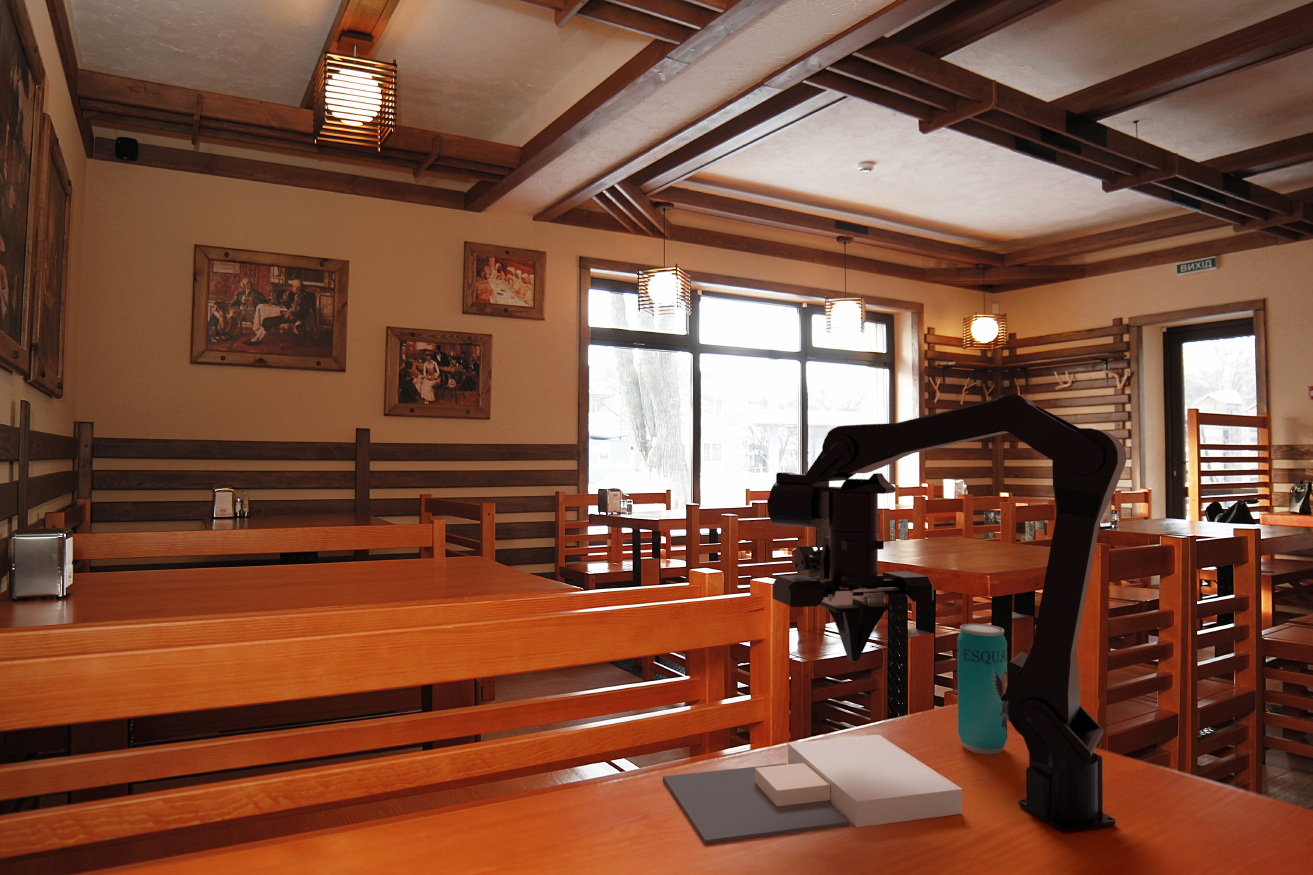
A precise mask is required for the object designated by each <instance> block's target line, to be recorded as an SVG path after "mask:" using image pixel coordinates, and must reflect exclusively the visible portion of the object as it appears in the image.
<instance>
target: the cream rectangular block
mask: <svg viewBox="0 0 1313 875" xmlns="http://www.w3.org/2000/svg"><path fill="white" fill-rule="evenodd" d="M755 783H756V784H757V785H758V786H759V787H760V788H761V789H762V791H763V792H764V793H765V794H766V795H767V796H768V797H769V798H770V799H771V800H772V801H773V802H774V803H775V805H776V806H784V805H792V804H801V803H809V802H817V801H826V800H830V784H829V783H828V782H826V781H825V780H824V779H823V778H822V777H821V776H820V775H818V774H817V773H816V772H815V771H814V770H813V769H812V768H810V767H809V766H808V765H807V764H806V763H798V764H788V763H787V765H779V766H769V767H759V768H755Z"/></svg>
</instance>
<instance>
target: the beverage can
mask: <svg viewBox="0 0 1313 875" xmlns="http://www.w3.org/2000/svg"><path fill="white" fill-rule="evenodd" d="M959 628H960V632H959V634H958V636H957V732H958V735H959V738H960V742H961V744H962V746H963V747H964V748H965V749H966V750H967V751H970V752H972V753H976V754H980V755H990V756H991V755H997V754H1000V753H1002V752H1003V750H1004V748H1005V744H1006V743H1007V740H1008V716H1007V704H1008V701H1001V698H1002V696H1003V695H1004V694H1005V692H1006V689H1007V684H1008V641H1007V640H1006V637H1005V634H1004V633H1005V629H1004V628H1003V627H1001V626H996V625H991V624H986V623H964V624H962V625H960V626H959Z"/></svg>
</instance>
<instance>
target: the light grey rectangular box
mask: <svg viewBox="0 0 1313 875" xmlns="http://www.w3.org/2000/svg"><path fill="white" fill-rule="evenodd" d="M787 745H788V746H787V747H788V748H787V765H788V764H798V763H806V764H807V765H808V766H809V767H810V768H812V769H813V770H814V771H815V772H816V773H817V774H818V775H820V776H821V777H822V778H823V779H824V780H825V781H826V782H828V783H829V784H830V800H827V801H828V802H829V803H830V804H831V805H832V806H833V807H834V808H835V809H836V810H837V811H839V812H840V813H841V814H842V815H843V816H844V817H845V818H846V819H847V820H848V821H849V822H850V823H851V824H852V825H854V827H856V828H861V827H869V826H870V827H871V826H877V825H885V824H893V823H894V824H895V823H900V822H901V823H902V822H908V821H916V820H925V819H930V818H931V819H932V818H940V817H946V816H947V817H948V816H953V815H961V814H963V788H961V787H960V786H958V785H957V784H955V783H954V782H952V781H950V779H947V778H946V777H944V776H943V775H941V774H940V773H938V772H937V771H935V770H933V769H932V768H930V767H929V766H927V765H926V764H924V763H923V762H921V761H920V760H919V759H916V758H915V757H914V756H913V755H911V754H909V753H908V752H906V751H905V750H903V749H901V747H898V746H897V745H895V744H894V743H892V742H891V741H890V740H888V739H886V738H884V737H883V736H881V735H880V734H871V735H863V736H862V735H861V736H851V737H841V738H830V739H820V740H811V741H810V740H809V741H801V742H798V741H797V742H791V743H790V742H788V743H787Z"/></svg>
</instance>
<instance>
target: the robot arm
mask: <svg viewBox="0 0 1313 875" xmlns="http://www.w3.org/2000/svg"><path fill="white" fill-rule="evenodd" d="M1004 434H1010V435H1012V436H1014V437H1015V438H1016V439H1018V440H1020V441H1021V442H1023V443H1024V444H1026V445H1027V446H1028V447H1030V448H1032V449H1033V450H1035V451H1036V452H1038V453H1039V454H1040V455H1043V456H1045V457H1046V458H1048V459H1049V460H1051V461H1052V463H1051V466H1052V490H1053V498H1054V499H1053V500H1054V505H1055V521H1054V527H1053V531H1052V532H1053V533H1052V537H1051V538H1052V539H1051V544H1050V549H1049V554H1048V559H1047V565H1046V571H1045V577H1044V582H1043V588H1042V593H1041V598H1040V604H1039V609H1038V615H1037V620H1036V626H1035V630H1034V637H1033V642H1032V646H1031V648H1030V651H1029V653H1026V652H1024V651H1021V652H1019V654H1017V655H1016V656H1015V657H1014V658H1012V660H1010V661H1009V662H1007V689H1006V692H1005V694H1004V695H1003V696H1002V698H1001V701H1007V721H1009V723H1010V724H1011V725H1012V727H1013V728H1014V730H1015V731H1016V732H1017V733H1018V734H1019V735H1020V736H1021V737H1023V741H1024V743H1025V745H1026V748H1027V751H1028V766H1027V767H1026V768H1025V776H1026V777H1025V778H1026V779H1025V782H1026V784H1025V785H1026V787H1025V788H1026V789H1025V790H1026V792H1025V793H1026V794H1025V795H1026V797H1025V798H1020V799H1018V800H1017V802H1018V804H1017V805H1019V806H1020V807H1022V808H1023V809H1025V810H1026V811H1028V812H1030V813H1031V814H1032V815H1034V816H1036V817H1038V818H1039V819H1041V820H1042V821H1044V822H1046V823H1047V824H1049V825H1051V827H1054V828H1056V829H1058V830H1059V831H1061V832H1063V833H1065V832H1066V833H1069V832H1076V831H1083V830H1091V829H1098V828H1103V827H1112V826H1116V824H1117V821H1116V818H1114V817H1113V816H1111V815H1109V814H1107V813H1105V812H1104V811H1103V810H1104V806H1103V804H1104V802H1103V801H1104V800H1103V799H1104V798H1103V796H1104V795H1103V794H1104V792H1103V789H1104V788H1103V779H1104V778H1103V756H1101V755H1100V754H1097V753H1095V752H1094V751H1095V749H1097V747H1098V746H1099V743H1100V741H1101V738H1102V737H1103V734H1104V729H1103V727H1102V726H1101V725H1100V724H1099V723H1098V722H1097V721H1096V720H1095V719H1094V718H1093V716H1092V715H1090V714H1089V712H1087V711H1086V709H1085V708H1084V707H1083V706H1082V705H1081V703H1080V702H1081V699H1080V698H1081V697H1080V695H1081V694H1080V691H1081V690H1080V672H1079V671H1080V670H1079V664H1078V656H1077V649H1078V642H1079V638H1080V633H1081V627H1082V621H1083V616H1084V611H1085V604H1086V601H1087V600H1086V599H1087V595H1088V591H1089V590H1088V588H1089V583H1090V579H1091V574H1092V568H1093V562H1094V558H1095V551H1096V547H1097V540H1098V536H1099V530H1100V527H1101V526H1100V525H1101V521H1102V518H1103V516H1104V515H1105V512H1106V510H1107V508H1108V506H1109V504H1110V502H1111V500H1112V498H1113V496H1114V494H1115V491H1116V489H1117V486H1118V484H1119V481H1120V479H1121V476H1122V475H1123V472H1124V469H1125V467H1126V463H1127V451H1126V448H1125V446H1124V445H1123V443H1122V442H1121V441H1120V440H1119V439H1118V438H1117V436H1115V435H1114V434H1111V433H1110V432H1107V431H1104V430H1101V429H1096V428H1092V427H1087V428H1086V427H1083V428H1082V427H1078V426H1076V425H1074V424H1073V423H1072V422H1069V421H1067V420H1065V419H1063V418H1061V417H1059V416H1057V415H1056V414H1054V413H1052V412H1050V411H1048V410H1046V409H1044V408H1042V407H1040V406H1039V405H1037V404H1036V403H1034V401H1033V400H1031V399H1029V398H1028V397H1026V396H1023V395H1019V394H1016V393H1015V394H1014V393H1008V394H1007V393H1005V394H1003V395H1001V396H999V397H996V398H994V399H991V400H987V401H986V400H985V401H983V402H978V403H974V404H969V405H966V406H965V405H964V406H961V407H958V408H953V409H950V410H945V411H941V412H937V413H932V414H929V415H923V416H921V417H917V418H916V417H915V418H913V419H912V418H911V419H907V420H904V421H899V422H893V423H891V422H890V423H889V422H888V423H869V424H868V423H867V424H866V423H863V424H851V425H849V424H848V425H847V424H846V425H839V426H836V427H834V428H831V429H830V430H829V431H828V432H827V434H826V436H825V438H824V439H823V443H822V446H821V451H820V453H819V454H818V456H817V458H816V459H815V460H814V462H813V463H812V465H811V466H810V467H809V469H808V470H807V472H806V473H805V474H804V473H802V474H801V473H799V474H798V473H795V472H787V471H784V472H777V473H775V474H776V475H775V483H773V485H772V487H771V489H770V492H769V496H768V498H767V499H766V500H767V501H766V505H767V506H766V507H767V513H768V516H769V519H770V521H771V522H772V523H773V524H774V525H776V526H788V527H802V528H816V529H817V528H821V526H822V525H823V524H824V522H825V521H826V520H828V536H823V541H822V549H821V550H815V548H814V547H813V545H799V546H797V547H795V549H794V568H795V572H796V573H797V574H796V575H793V574H792V575H778V576H776V579H775V580H774V582H773V584H772V599H773V600H775V601H777V602H780V603H782V604H784V605H787V606H789V607H793V608H806V607H819V606H820V607H823V608H825V609H826V610H827V611H828V613H829V614H830V615H831V617H832V620H833V621H834V624H835V626H836V628H837V629H836V630H837V631H838V635H839V637H840V640H841V643H842V647H843V649H844V651H845V656H847V659H848V660H849V661H850V662H859V660H860V658H861V656H862V654H863V651H864V650H865V648H866V646H867V643H868V642H869V639H870V638H871V635H872V634H873V632H874V629H875V628H876V627H877V625H878V623H879V621H880V619H882V617H883V615H884V613H885V612H886V611H891V610H892V605H891V604H890V603H887V602H886V595H905V596H906V598H908V600H909V601H910V602H914V603H915V602H930V601H934V598H935V597H934V591H935V590H934V587H935V586H934V584H933V583H932V580H931V579H930V578H929V576H927V575H923V574H919V573H915V572H911V571H907V570H905V571H884V572H883V573H882V574H879V570H878V569H879V567H878V566H879V564H878V563H879V562H878V561H879V560H878V558H879V557H878V556H879V555H878V554H879V553H878V552H879V551H878V550H884V549H885V548H884V544H885V543H884V540H881V539H878V538H879V532H878V530H879V529H878V524H879V522H878V520H879V516H878V515H879V514H878V513H879V512H878V510H879V508H878V505H879V503H878V502H879V500H878V499H879V498H878V497H879V496H878V495H879V494H880V495H885V494H894V493H896V491H897V488H896V487H895V486H894V485H893V484H891V483H890V482H889V481H888V480H887V479H886V477H885V476H884V474H883V473H882V472H877V473H873V474H872V475H871V476H870V477H869V478H852V477H854V475H857V474H868V473H871V472H874V471H876V470H879V469H880V468H881V469H882V468H884V467H886V466H889V465H891V464H893V463H895V462H897V461H899V460H901V459H903V458H904V457H907V456H910V455H912V454H915V453H921V452H924V451H929V450H934V449H939V448H944V447H947V446H948V447H949V446H953V445H957V444H961V443H968V442H971V441H978V440H981V439H985V438H991V437H995V436H999V435H1004ZM837 481H838V482H840V481H843V483H842V484H841V486H830V482H837ZM799 574H801V575H799ZM803 574H808V576H807V575H803ZM827 580H828V581H827Z"/></svg>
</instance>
